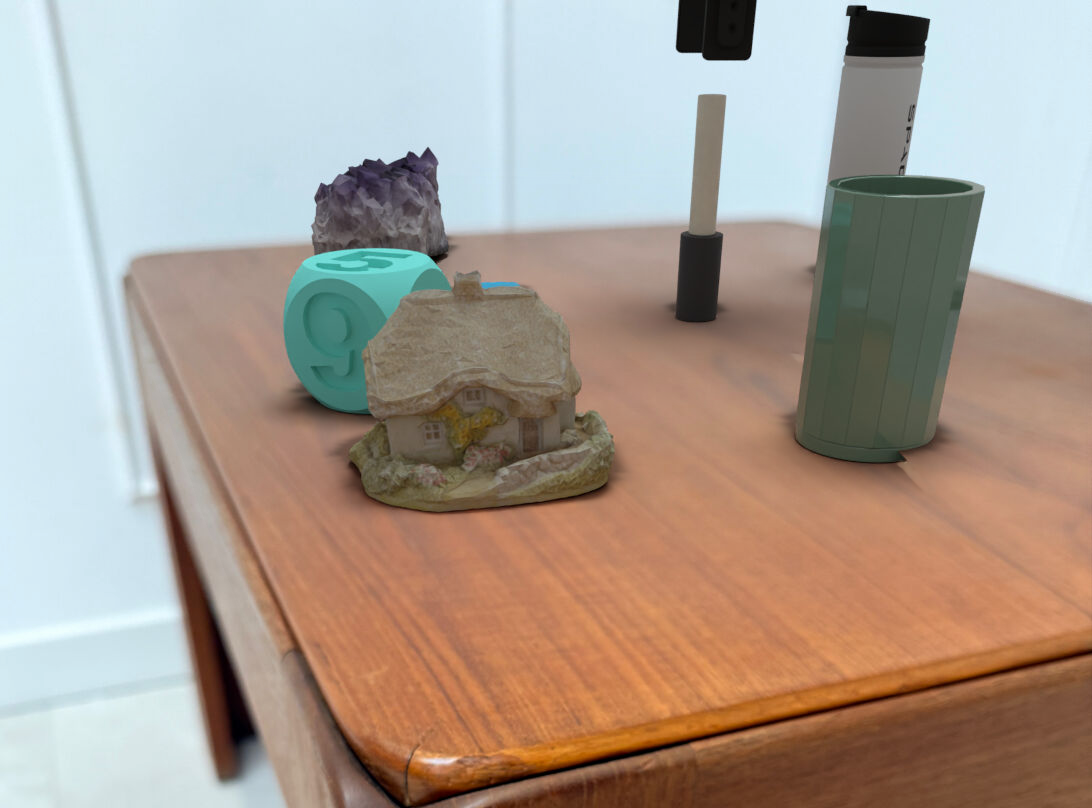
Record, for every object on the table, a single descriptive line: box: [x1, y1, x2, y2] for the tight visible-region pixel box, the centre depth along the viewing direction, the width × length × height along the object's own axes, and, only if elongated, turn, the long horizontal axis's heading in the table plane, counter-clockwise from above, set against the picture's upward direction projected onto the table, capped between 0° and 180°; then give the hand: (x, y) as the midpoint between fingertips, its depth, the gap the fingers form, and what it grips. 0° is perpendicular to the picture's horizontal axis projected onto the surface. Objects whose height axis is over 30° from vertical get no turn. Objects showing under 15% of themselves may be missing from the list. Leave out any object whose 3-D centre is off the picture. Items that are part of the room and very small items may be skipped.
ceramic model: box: [347, 269, 616, 513], centre depth 56 cm, size 14×11×10 cm
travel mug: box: [826, 4, 931, 185], centre depth 91 cm, size 6×7×20 cm
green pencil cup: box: [794, 174, 986, 464], centre depth 58 cm, size 8×8×13 cm
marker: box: [674, 93, 727, 323], centre depth 81 cm, size 3×3×15 cm
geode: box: [310, 146, 450, 257], centre depth 102 cm, size 20×12×10 cm, turn 172°
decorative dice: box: [282, 248, 453, 415], centre depth 68 cm, size 8×8×8 cm
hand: (711, 56), depth 76 cm, fingers open, 9 cm apart
